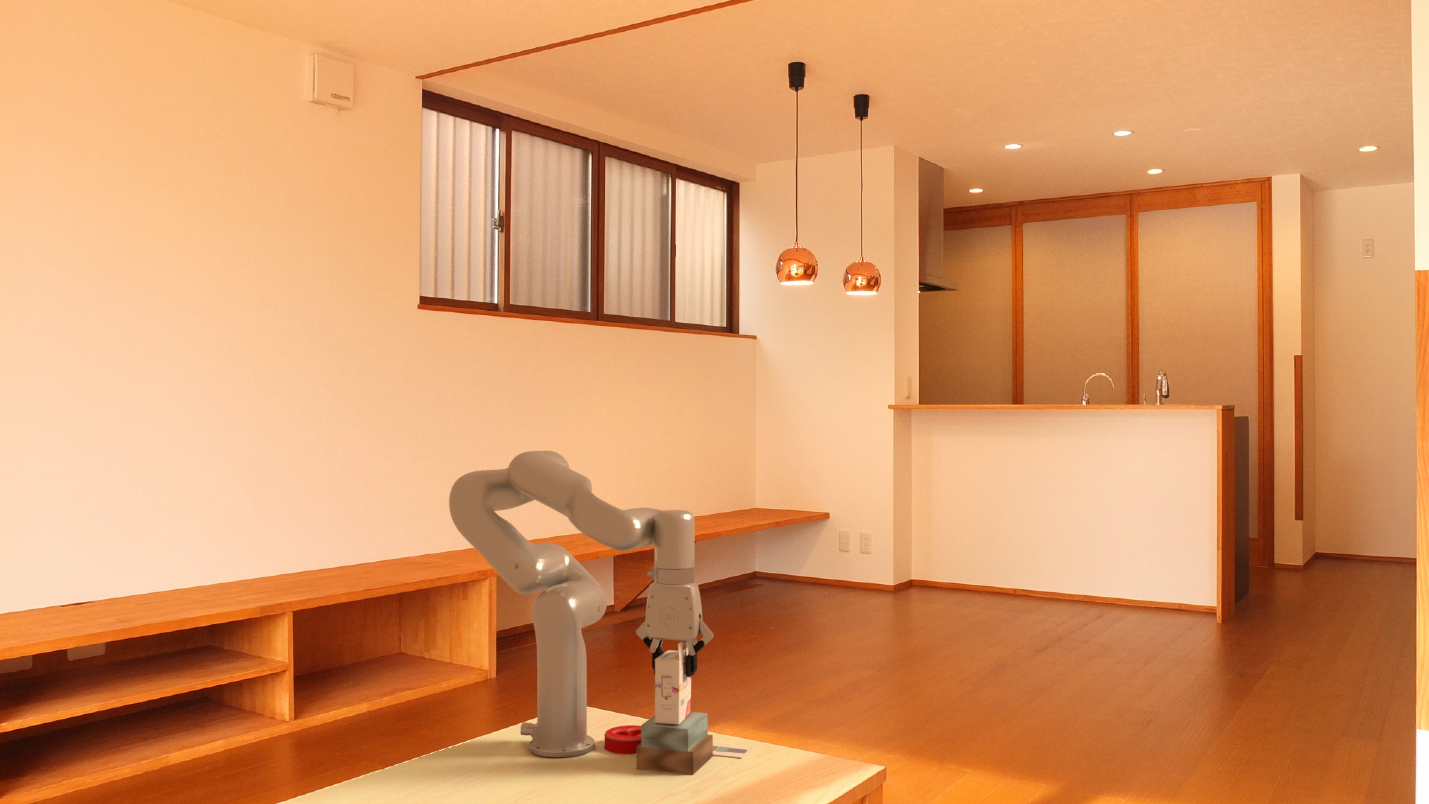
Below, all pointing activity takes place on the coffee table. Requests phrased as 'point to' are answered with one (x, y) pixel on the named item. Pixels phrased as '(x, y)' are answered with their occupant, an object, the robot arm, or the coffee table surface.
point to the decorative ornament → (623, 739)
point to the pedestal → (675, 745)
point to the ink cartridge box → (672, 687)
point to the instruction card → (730, 750)
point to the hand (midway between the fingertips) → (674, 673)
